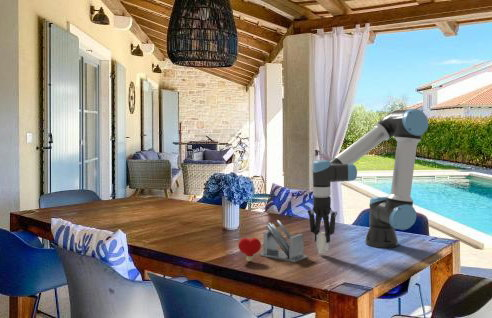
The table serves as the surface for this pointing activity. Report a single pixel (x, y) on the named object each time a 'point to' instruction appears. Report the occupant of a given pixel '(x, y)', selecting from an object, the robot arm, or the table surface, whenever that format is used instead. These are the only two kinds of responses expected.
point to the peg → (321, 243)
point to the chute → (282, 244)
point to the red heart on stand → (249, 247)
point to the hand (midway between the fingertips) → (322, 249)
